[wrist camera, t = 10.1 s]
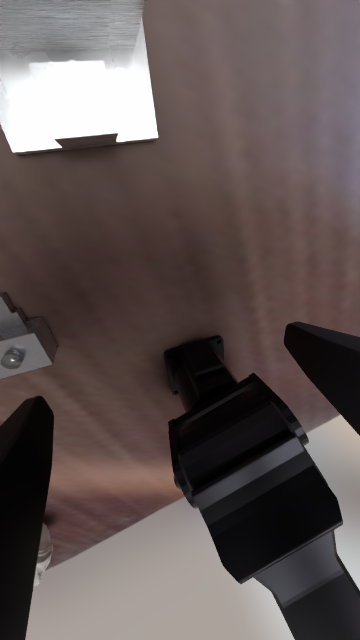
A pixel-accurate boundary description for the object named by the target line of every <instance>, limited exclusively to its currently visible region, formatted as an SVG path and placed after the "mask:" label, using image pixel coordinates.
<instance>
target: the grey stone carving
mask: <svg viewBox="0 0 360 640" xmlns="http://www.w3.org/2000/svg"><path fill="white" fill-rule="evenodd" d="M50 536H51V535H50V532H49V531H48V528H47V526H46V525H45V524H44V523H43V527H42V534H41V540H40V547H39V553H38V560H37V566H36V573H35V579H34V586H37V585H39V581H40V579H41V577H42V575H43V573H44V571H45V569H46V567H47V566H48V564H49V562H50V560H51V555H52V551H53V544H52V543H51V542H50Z"/></svg>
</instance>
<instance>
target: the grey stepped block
mask: <svg viewBox="0 0 360 640" xmlns="http://www.w3.org/2000/svg"><path fill="white" fill-rule="evenodd" d="M57 347H58V344H57V343H56V341H55V339H54V337H53V335H52V333H51V331H50V330H49V328H48V326H47V324H46V322H45V320H44V318H43V317H42V316H40V317H36V318H32V319H28V320H27V318H26V317H25V315H24V313H23V311H22V310H21V308H14V306H13V304H12V303H11V301H10V299H9V298H8V296H7V294H6V293H5V292H4V293H0V379H1V378H5V377H8V376H12V375H16V374H19V373H23V372H27V371H30V370H34V369H38V368H41V367H45V366H49V365H52V364H53V361H54V358H55V354H56V351H57Z"/></svg>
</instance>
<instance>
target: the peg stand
mask: <svg viewBox="0 0 360 640" xmlns="http://www.w3.org/2000/svg"><path fill="white" fill-rule="evenodd" d="M0 124H1V126H2V128H3V131H4V133H5V135H6V138H7V140H8V142H9V145H10V147H11V150H12V152H13V153H15V154H17V155H24V154H33V153H43V152H52V151H62V150H71V149H80V148H90V147H99V146H109V145H118V144H127V143H137V142H146V141H155V140H156V139H157V138H158V134H157V126H156V119H155V111H154V104H153V96H152V89H151V82H150V74H149V67H148V59H147V52H146V44H145V37H144V29H143V22H142V18H141V22H140V27H139V31H138V36H137V40H136V45H135V48H105V49H70V50H35V51H1V52H0Z"/></svg>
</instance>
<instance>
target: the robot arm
mask: <svg viewBox="0 0 360 640" xmlns="http://www.w3.org/2000/svg"><path fill="white" fill-rule="evenodd" d="M218 340H219V341H218ZM217 341H218V342H217ZM284 345H285V347H286V348H287V350H288V351H289V352H290V354H291V355H292V356H293V358H294V359H295V361H296V362H297V363H298V365H299V366H300V367H301V369H302V370H303V371H304V373H305V374H306V375H307V377H308V378H309V379H310V380H311V381H312V383H313V384H314V385H315V386H316V387H317V388H318V389H319V391H320V392H321V393H322V394H323V395H324V396H325V397H326V398H327V400H328V401H329V402H330V403H331V404H332V405H333V406H334V407H335V408H336V410H337V411H338V412H339V413H340V414H341V415H342V416H343V417H344V419H345V420H346V421H347V422H348V423H349V424H350V425H351V426H352V427H353V429H354V430H355V431H356V432H357V433H358V434H359V435H360V337H357V336H353V335H349V334H345V333H341V332H337V331H333V330H329V329H325V328H322V327H318V326H314V325H310V324H306V323H302V322H293V323H290V324H288V325H287V326H286V330H285V336H284ZM169 354H171V355H170V356H168V355H169ZM164 358H165V362H166V367H167V372H168V377H169V381H170V386H171V391H172V394H173V395H178V394H179V395H180V398H181V400H182V403H183V406H184V408H185V411H186V413H185V414H183V415H181V416H180V417H178V418H176V419H175V420H174V419H172V420H171V421H169V422H168V425H169V440H170V449H171V458H172V466H173V473H174V482H175V485H176V486H177V488H179V489H181V490H182V491H183V493H184V495H185V497H186V499H187V500H188V502H189V503H190V505H191V506H192V507H193V508H199V510H200V512H201V514H202V517H203V519H204V521H205V523H206V525H207V527H208V529H209V532H210V534H211V537H212V539H213V542H214V544H215V547H216V549H217V552H218V554H219V557H220V560H221V562H222V564H223V566H224V567H225V569H226V570H227V571H228V572H229V573H230V574H231V575H232V576H233V577H234V578H235V580H236V581H238V583H240V584H242V583H244V582H246V581H247V580H249V579H251V578H252V577H254V578H255V579H256V580H257V581H259V582H260V583H261V584H262V585H264V586H265V587H266V588H267V589H269V590H270V591H271V592H272V594H273V596H274V598H275V600H276V602H277V604H278V606H279V608H280V610H281V612H282V614H283V616H284V618H285V620H286V622H287V624H288V627H289V629H290V631H291V633H292V635H293V637H294V639H295V640H360V591H359V589H358V587H357V586H356V584H355V583H354V581H353V579H352V577H351V576H350V574H349V572H348V571H347V569H346V568H345V566H344V564H343V563H342V561H341V559H340V558H339V556H338V554H337V551H336V543H335V535H334V529H336V528H338V527H339V526H341V525H342V524H343V520H342V516H341V512H340V508H339V504H338V500H337V498H336V496H335V495H334V493H333V492H332V491H331V489H330V488H329V487H328V484H327V482H326V480H325V479H324V477H323V476H322V474H321V472H320V471H319V469H318V468H317V466H316V465H315V463H314V461H313V460H312V458H311V457H310V455H309V454H308V452H307V450H306V449H305V447H304V445H306V444H308V443H309V440H308V437H307V435H306V433H305V431H304V430H303V428H302V426H301V425H300V423H299V421H298V420H297V418H296V417H295V416H294V414H293V413H292V412H291V410H290V409H289V408H288V406H287V405H286V404H285V403H284V402H283V401H282V400H281V399H280V398H279V397H278V396H277V395H276V394H275V393H274V392H273V391H272V390H271V389H270V388H269V387H268V386H267V385H266V384H265V383H264V382H263V381H262V380H261V379H260V378H259V377H258V376H257V375H256V374H255V373H252V374H251V375H249V377H247V378H246V379H244V380H242V381H240V382H238V381H237V380H236V378H235V377H234V375H233V374H232V372H231V371H230V370H229V368H228V367H227V365H226V364H225V362H224V346H223V339H222V337H221V336H216V337H212V338H209V339H205V340H202V341H198V342H195V343H191V344H188V345H185V346H181V347H178V348H174V349H171V350H167V351H166V352H165V353H164ZM53 429H54V415H53V411H52V410H51V408H50V407H49V405H48V404H47V402H46V401H45V399H44V398H43V397H42V396H35V397H32V398H28V399H26V400H25V401H24V402H23V403H22V404H21V405H20V406H19V407H18V408H17V409H16V410H15V411H14V412H13V413H12V414H11V416H10V417H9V418H8V419H7V420H6V421H5V422H4V423H3V424H2V425H1V426H0V640H25V637H26V631H27V624H28V618H29V612H30V605H31V598H32V592H33V586H34V579H35V573H36V566H37V560H38V553H39V547H40V540H41V534H42V527H43V521H44V514H45V508H46V501H47V495H48V488H49V482H50V475H51V468H52V453H53Z"/></svg>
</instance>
